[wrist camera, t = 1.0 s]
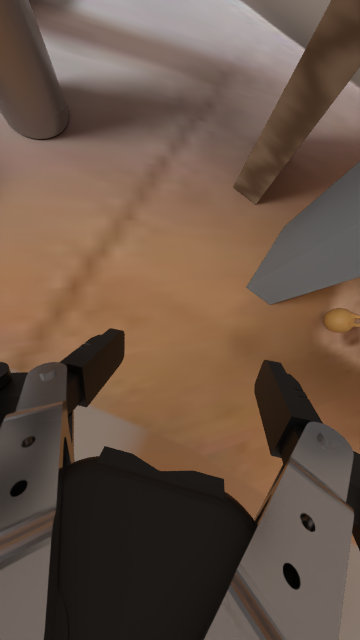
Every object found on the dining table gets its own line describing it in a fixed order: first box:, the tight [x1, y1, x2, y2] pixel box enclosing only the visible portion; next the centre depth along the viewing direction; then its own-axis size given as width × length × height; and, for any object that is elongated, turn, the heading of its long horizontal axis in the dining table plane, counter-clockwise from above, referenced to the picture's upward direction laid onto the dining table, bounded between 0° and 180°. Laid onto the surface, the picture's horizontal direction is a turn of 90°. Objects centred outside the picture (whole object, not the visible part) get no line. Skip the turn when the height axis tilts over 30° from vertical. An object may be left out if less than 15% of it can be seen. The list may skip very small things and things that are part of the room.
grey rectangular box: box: [246, 161, 360, 305], centre depth 20 cm, size 5×14×24 cm, turn 146°
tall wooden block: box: [233, 0, 360, 205], centre depth 18 cm, size 5×14×32 cm, turn 146°
